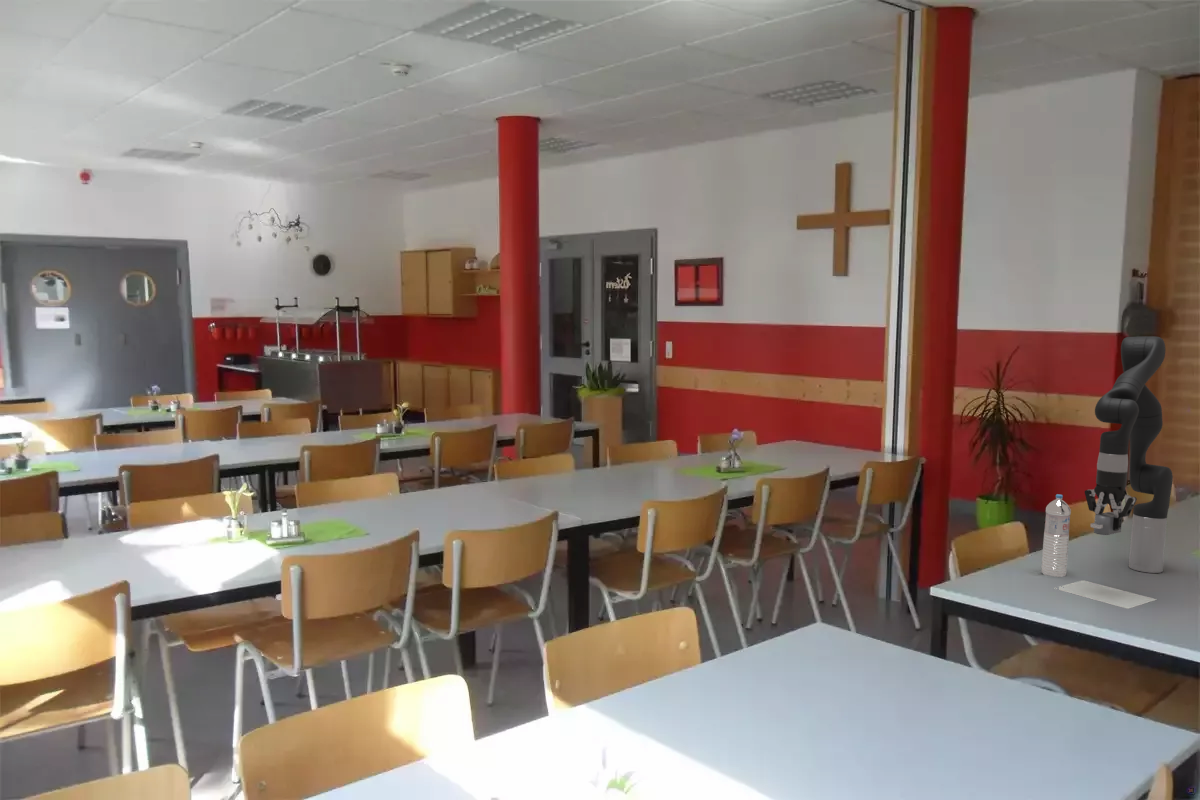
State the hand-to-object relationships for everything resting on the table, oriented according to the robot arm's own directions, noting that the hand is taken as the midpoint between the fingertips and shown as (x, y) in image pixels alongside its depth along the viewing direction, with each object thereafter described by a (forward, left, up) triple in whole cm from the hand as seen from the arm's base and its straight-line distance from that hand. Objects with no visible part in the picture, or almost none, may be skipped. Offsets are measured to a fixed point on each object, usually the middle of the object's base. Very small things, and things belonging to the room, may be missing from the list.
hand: (1107, 528), depth 261 cm
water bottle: (-6, -18, -19) cm, 27 cm away
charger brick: (0, 0, -1) cm, 1 cm away
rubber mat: (+1, +1, -19) cm, 19 cm away
